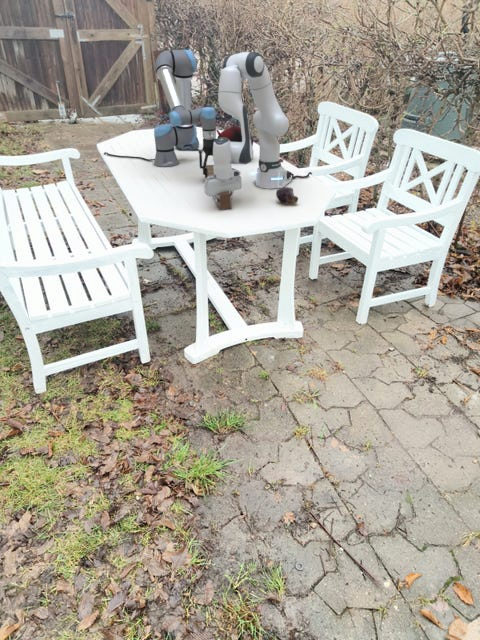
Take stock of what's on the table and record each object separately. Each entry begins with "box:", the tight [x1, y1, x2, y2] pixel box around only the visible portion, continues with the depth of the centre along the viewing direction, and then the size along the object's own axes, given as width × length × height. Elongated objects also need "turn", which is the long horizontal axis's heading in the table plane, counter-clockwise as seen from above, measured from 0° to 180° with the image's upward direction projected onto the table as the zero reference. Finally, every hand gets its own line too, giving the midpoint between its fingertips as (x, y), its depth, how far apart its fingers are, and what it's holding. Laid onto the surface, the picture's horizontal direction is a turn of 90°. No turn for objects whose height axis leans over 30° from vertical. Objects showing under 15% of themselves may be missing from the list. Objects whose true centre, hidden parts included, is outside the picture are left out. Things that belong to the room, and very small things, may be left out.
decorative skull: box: [216, 126, 254, 146], centre depth 296 cm, size 21×24×25 cm
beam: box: [206, 164, 232, 210], centre depth 244 cm, size 52×5×8 cm, turn 12°
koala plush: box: [174, 136, 200, 151], centre depth 322 cm, size 17×18×20 cm
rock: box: [275, 186, 299, 205], centre depth 230 cm, size 12×9×10 cm
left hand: (211, 179), depth 263 cm, fingers closed on beam, 5 cm apart
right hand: (223, 200), depth 228 cm, fingers closed on beam, 6 cm apart
